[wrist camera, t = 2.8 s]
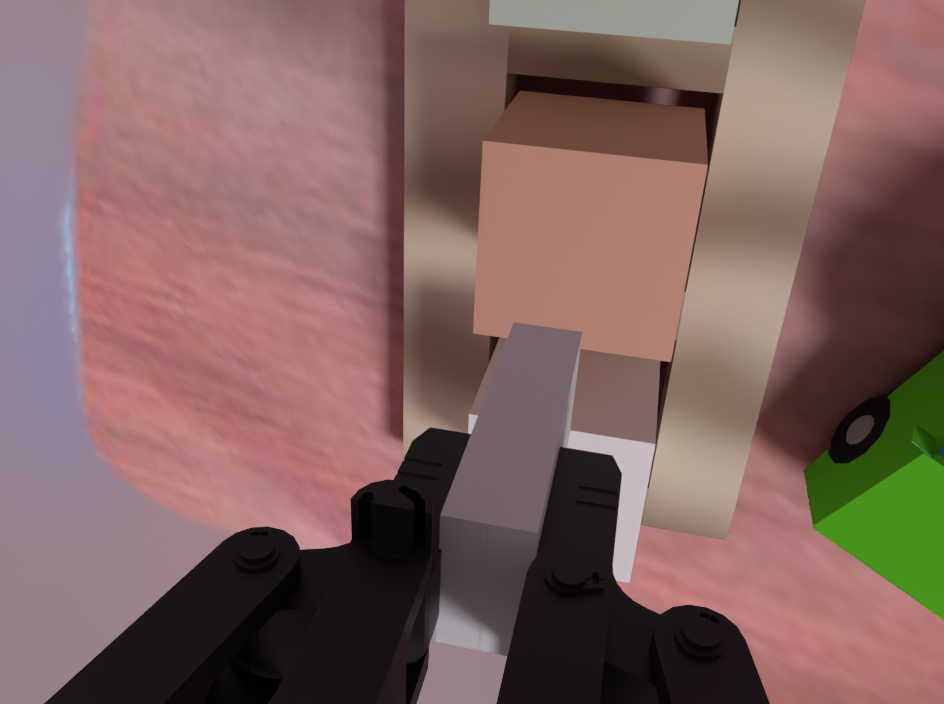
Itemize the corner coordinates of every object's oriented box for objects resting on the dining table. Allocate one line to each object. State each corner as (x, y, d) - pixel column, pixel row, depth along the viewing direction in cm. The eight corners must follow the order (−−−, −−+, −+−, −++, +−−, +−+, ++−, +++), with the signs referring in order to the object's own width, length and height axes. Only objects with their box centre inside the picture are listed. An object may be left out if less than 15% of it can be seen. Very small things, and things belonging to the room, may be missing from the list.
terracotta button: (519, 90, 28) (482, 140, 23) (704, 108, 27) (707, 164, 22) (508, 257, 31) (472, 333, 26) (674, 278, 30) (670, 362, 25)
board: (429, -336, 25) (402, -357, 23) (931, -329, 23) (960, -352, 21) (418, 449, 40) (400, 488, 38) (724, 502, 38) (726, 546, 35)
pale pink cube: (503, 328, 33) (468, 413, 28) (661, 351, 32) (655, 443, 27) (494, 453, 36) (462, 551, 31) (638, 478, 35) (629, 583, 30)
